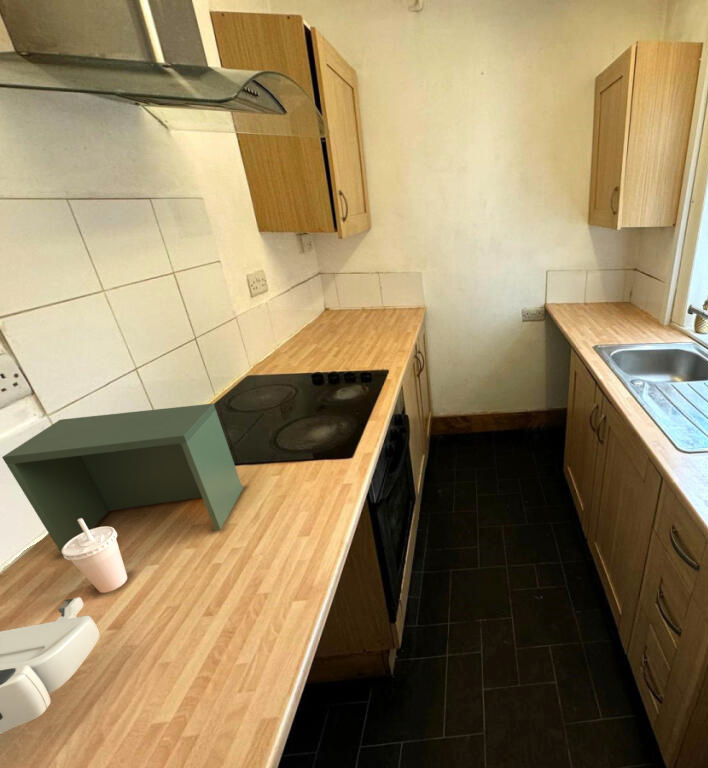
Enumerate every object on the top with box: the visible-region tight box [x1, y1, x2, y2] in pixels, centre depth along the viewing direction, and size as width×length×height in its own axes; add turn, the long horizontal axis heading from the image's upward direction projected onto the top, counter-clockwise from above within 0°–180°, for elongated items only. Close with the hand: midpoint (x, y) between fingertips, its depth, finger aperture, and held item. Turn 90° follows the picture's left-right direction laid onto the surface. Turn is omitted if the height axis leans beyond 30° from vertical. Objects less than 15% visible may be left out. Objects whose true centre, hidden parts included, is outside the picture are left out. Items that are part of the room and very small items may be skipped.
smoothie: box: [61, 518, 128, 594], centre depth 68 cm, size 6×6×14 cm
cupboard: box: [1, 403, 244, 556], centre depth 80 cm, size 26×13×22 cm, turn 104°
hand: (33, 608), depth 57 cm, fingers open, 8 cm apart
